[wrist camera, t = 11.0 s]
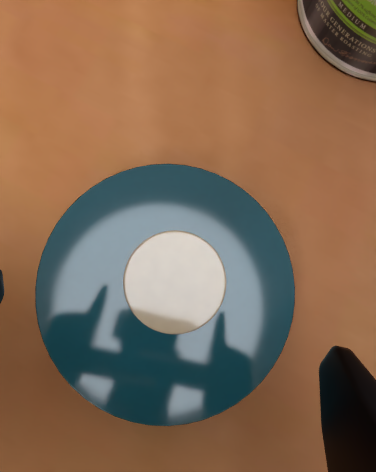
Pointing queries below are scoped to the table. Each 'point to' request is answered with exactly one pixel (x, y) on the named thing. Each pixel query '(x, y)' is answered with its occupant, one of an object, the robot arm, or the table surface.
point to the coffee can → (343, 33)
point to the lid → (165, 294)
